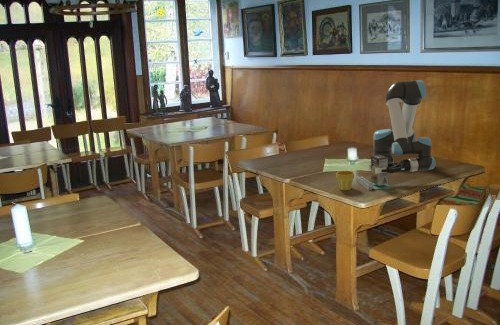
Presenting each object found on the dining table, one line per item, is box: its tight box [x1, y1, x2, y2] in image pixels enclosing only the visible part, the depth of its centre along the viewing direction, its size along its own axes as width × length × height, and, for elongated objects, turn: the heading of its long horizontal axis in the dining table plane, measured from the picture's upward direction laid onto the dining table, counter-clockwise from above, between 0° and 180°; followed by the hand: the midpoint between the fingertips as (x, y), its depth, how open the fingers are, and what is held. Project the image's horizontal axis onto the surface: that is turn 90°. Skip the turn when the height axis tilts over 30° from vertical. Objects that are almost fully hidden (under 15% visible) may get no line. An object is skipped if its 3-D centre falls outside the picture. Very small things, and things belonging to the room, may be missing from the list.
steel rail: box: [356, 175, 375, 191], centre depth 300 cm, size 3×20×3 cm, turn 8°
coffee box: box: [370, 155, 389, 186], centre depth 294 cm, size 9×6×16 cm
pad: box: [371, 182, 392, 191], centre depth 296 cm, size 10×12×1 cm
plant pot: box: [335, 170, 355, 191], centre depth 295 cm, size 10×10×10 cm
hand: (372, 169), depth 293 cm, fingers closed on coffee box, 10 cm apart
